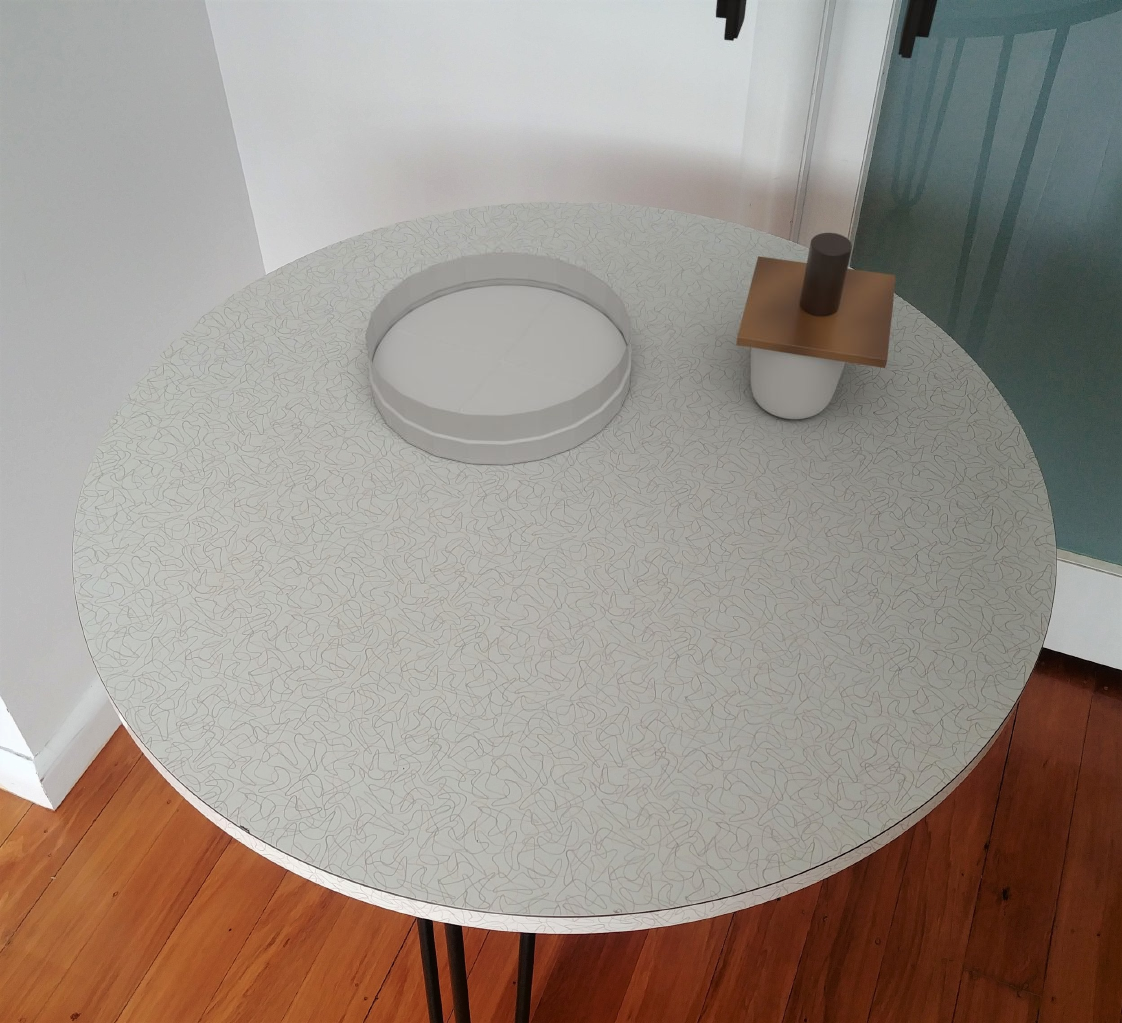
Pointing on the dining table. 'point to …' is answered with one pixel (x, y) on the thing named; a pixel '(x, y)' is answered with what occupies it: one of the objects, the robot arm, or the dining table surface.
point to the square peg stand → (820, 306)
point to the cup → (793, 382)
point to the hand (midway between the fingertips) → (818, 39)
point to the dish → (499, 357)
